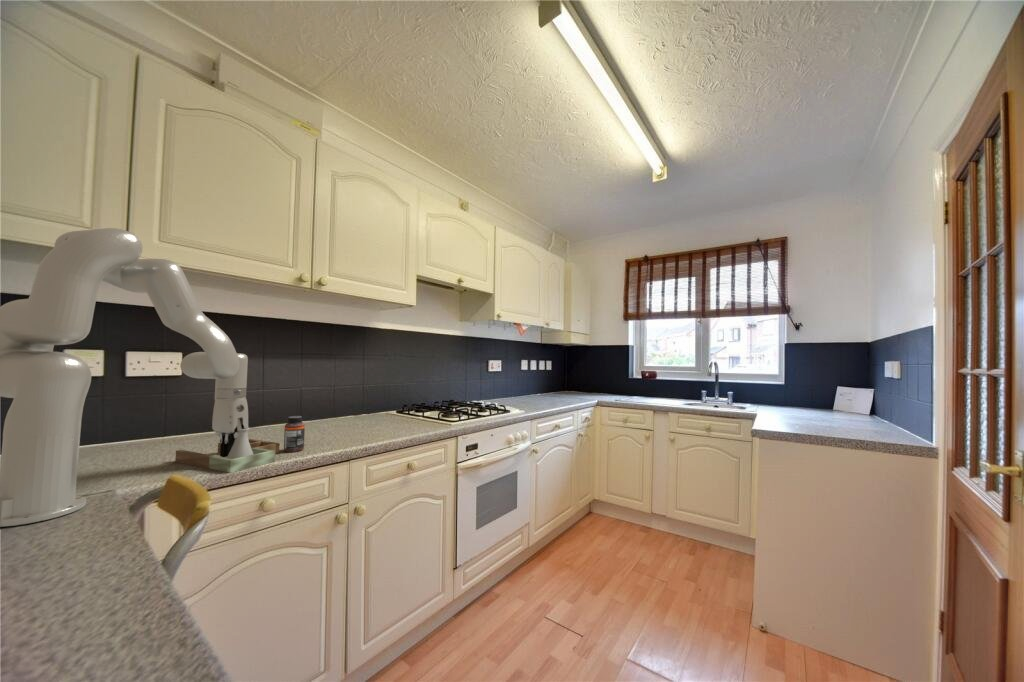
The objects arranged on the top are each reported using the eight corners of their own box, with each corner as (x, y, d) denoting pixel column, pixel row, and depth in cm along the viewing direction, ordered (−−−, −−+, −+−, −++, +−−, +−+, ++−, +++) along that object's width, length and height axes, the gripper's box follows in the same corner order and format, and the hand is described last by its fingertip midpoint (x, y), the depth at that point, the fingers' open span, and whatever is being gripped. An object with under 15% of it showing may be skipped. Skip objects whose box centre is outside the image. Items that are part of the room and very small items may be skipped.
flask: (241, 466, 105) (243, 431, 106) (217, 465, 106) (220, 430, 107) (260, 460, 112) (263, 427, 113) (238, 459, 113) (241, 426, 114)
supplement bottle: (290, 448, 128) (292, 415, 128) (307, 448, 128) (309, 415, 128) (279, 452, 122) (281, 417, 122) (296, 452, 122) (298, 418, 122)
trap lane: (230, 472, 100) (230, 460, 100) (175, 461, 109) (175, 450, 109) (296, 455, 118) (296, 445, 118) (244, 447, 127) (245, 438, 127)
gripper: (259, 394, 112) (256, 456, 111) (228, 391, 117) (225, 450, 117) (233, 396, 105) (229, 462, 104) (201, 393, 111) (197, 456, 110)
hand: (227, 455), depth 110 cm, fingers closed
